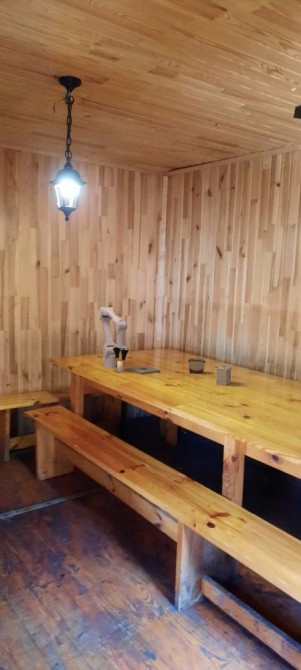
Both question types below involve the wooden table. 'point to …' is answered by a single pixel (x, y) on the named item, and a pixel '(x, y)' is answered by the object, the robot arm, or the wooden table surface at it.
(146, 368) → the hole plate
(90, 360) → the wooden table surface
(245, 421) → the wooden table surface
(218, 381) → the light bulb box
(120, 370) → the peg
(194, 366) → the food container
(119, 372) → the square grey metal plate
